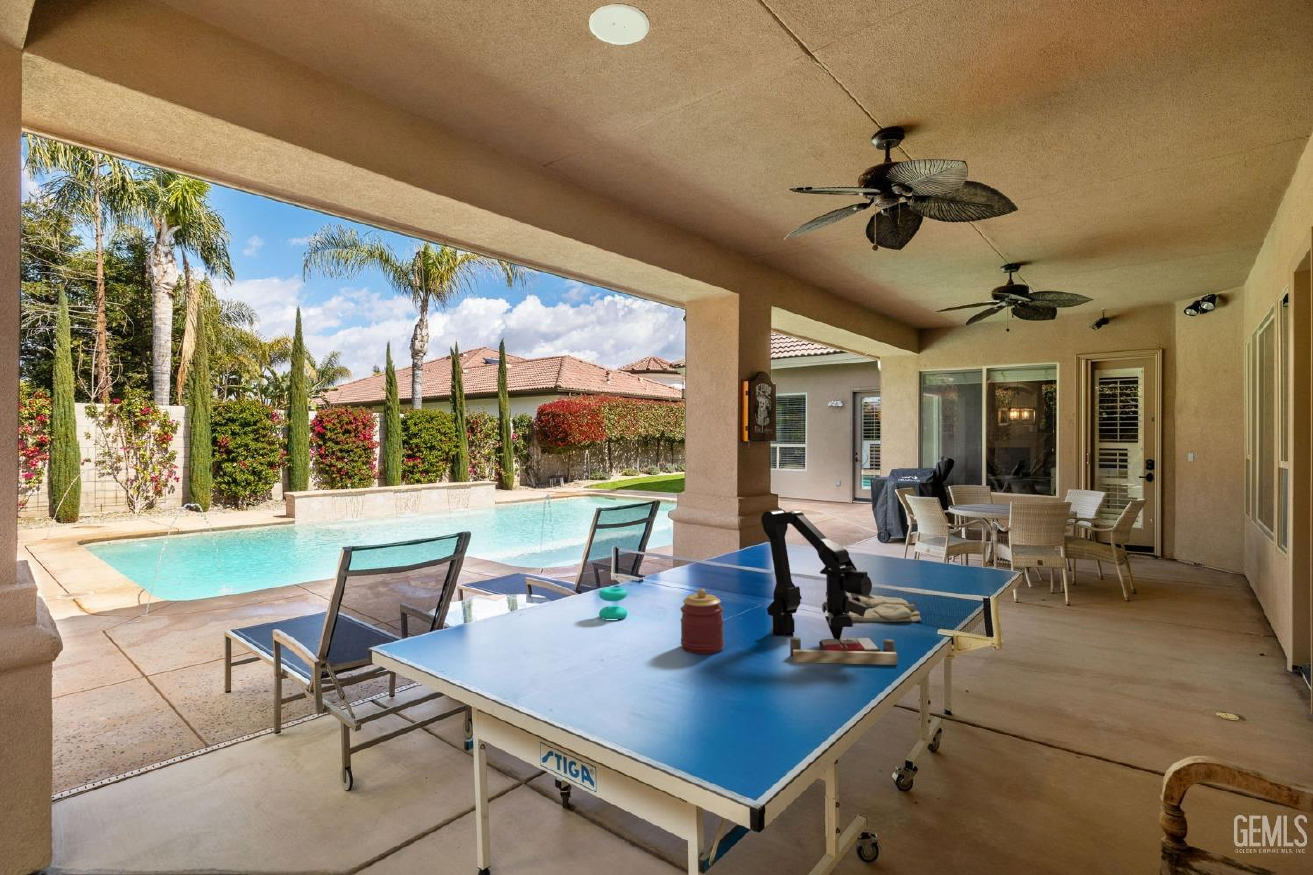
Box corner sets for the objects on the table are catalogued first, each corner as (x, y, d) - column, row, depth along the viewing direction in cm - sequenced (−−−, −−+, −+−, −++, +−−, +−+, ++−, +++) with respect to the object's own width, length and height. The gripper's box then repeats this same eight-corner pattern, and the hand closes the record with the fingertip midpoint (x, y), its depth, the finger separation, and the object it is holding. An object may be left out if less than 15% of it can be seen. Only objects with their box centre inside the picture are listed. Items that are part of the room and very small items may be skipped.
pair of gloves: (835, 602, 253) (835, 588, 253) (904, 604, 249) (904, 590, 249) (847, 624, 223) (847, 608, 223) (926, 626, 219) (926, 610, 219)
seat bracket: (791, 661, 184) (791, 644, 184) (789, 654, 190) (789, 636, 190) (899, 664, 180) (898, 646, 180) (893, 656, 187) (892, 639, 187)
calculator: (818, 638, 195) (869, 635, 194) (819, 652, 195) (870, 650, 194) (826, 649, 184) (880, 647, 183) (827, 665, 184) (881, 662, 183)
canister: (732, 647, 197) (732, 588, 198) (705, 657, 188) (705, 596, 188) (699, 638, 206) (698, 582, 206) (671, 648, 197) (671, 589, 197)
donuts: (631, 590, 230) (604, 593, 226) (631, 619, 230) (604, 622, 226) (620, 585, 239) (594, 588, 235) (621, 612, 239) (595, 616, 235)
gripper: (870, 598, 186) (871, 653, 185) (858, 583, 204) (858, 634, 204) (830, 597, 187) (831, 652, 187) (821, 583, 205) (822, 633, 205)
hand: (837, 642), depth 196 cm, fingers closed
